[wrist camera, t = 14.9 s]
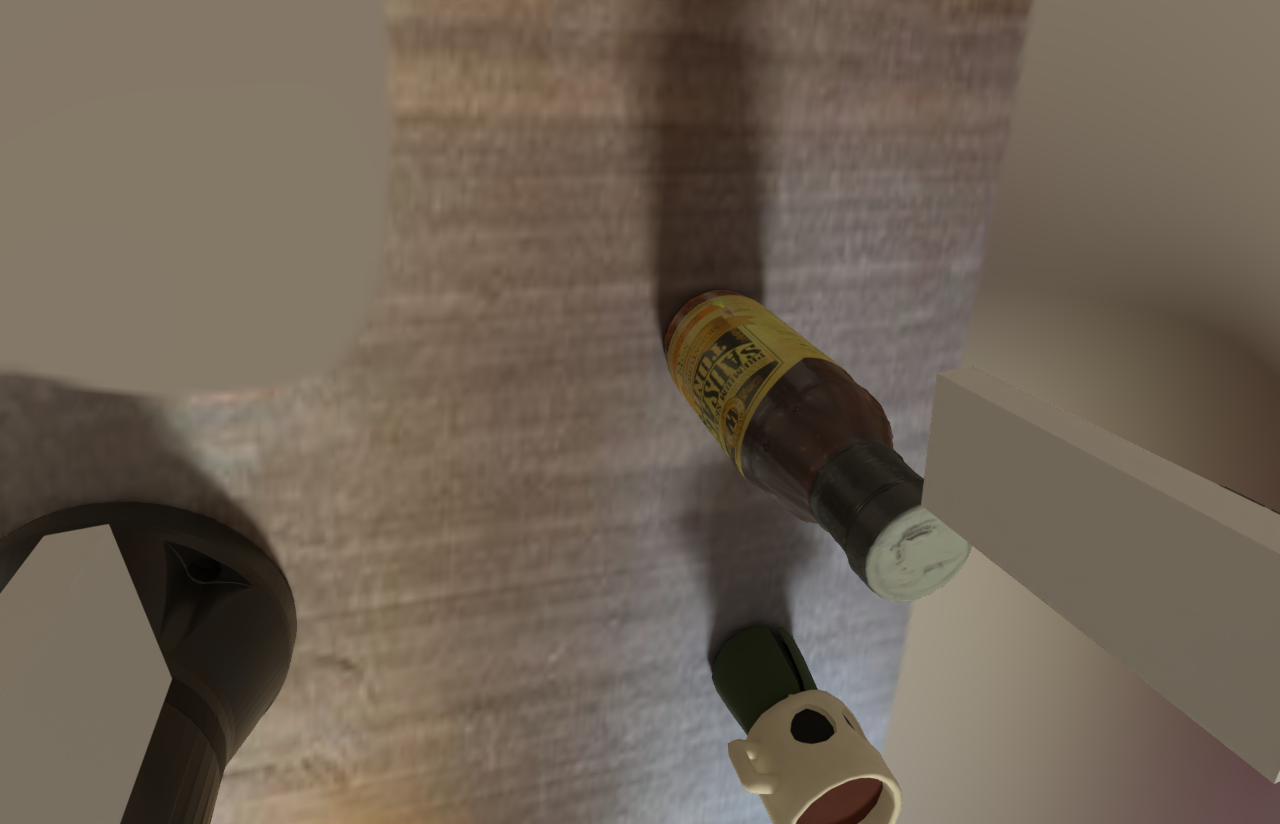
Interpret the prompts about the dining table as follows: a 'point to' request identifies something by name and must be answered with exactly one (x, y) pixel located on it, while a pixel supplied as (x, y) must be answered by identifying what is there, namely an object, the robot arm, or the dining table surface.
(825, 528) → the sauce bottle
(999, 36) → the dining table surface
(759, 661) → the character mug
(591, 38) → the dining table surface
